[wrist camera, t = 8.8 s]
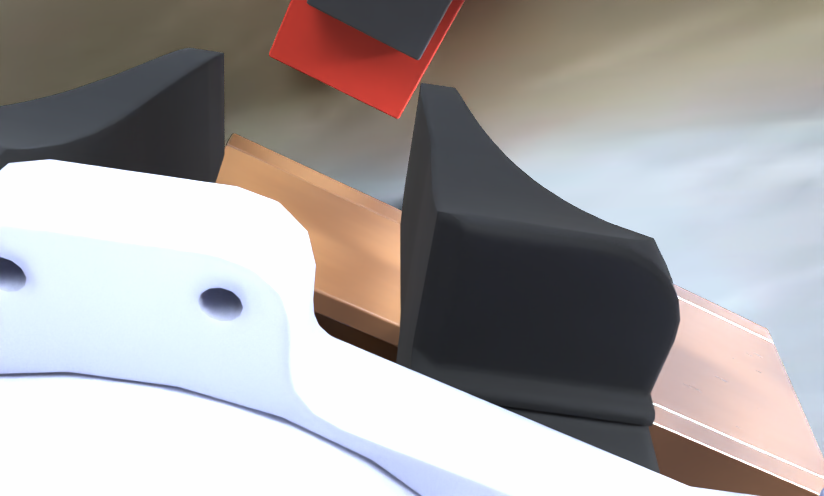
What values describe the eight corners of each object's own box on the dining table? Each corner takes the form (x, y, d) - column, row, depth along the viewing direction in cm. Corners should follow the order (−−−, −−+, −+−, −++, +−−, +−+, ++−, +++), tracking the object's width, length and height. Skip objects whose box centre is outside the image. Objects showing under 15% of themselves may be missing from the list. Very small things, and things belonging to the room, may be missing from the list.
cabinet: (326, 393, 33) (289, 559, 27) (464, 182, 27) (458, 339, 20) (584, 495, 36) (605, 667, 30) (768, 328, 29) (845, 506, 23)
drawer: (-40, 255, 29) (-144, 370, 24) (7, -1, 23) (-119, 85, 18) (369, 416, 33) (349, 545, 28) (503, 232, 27) (507, 356, 22)
